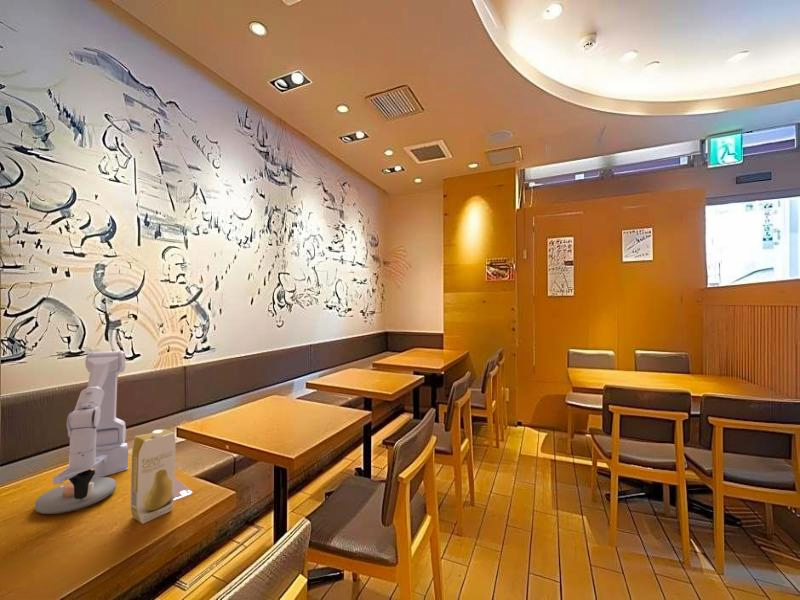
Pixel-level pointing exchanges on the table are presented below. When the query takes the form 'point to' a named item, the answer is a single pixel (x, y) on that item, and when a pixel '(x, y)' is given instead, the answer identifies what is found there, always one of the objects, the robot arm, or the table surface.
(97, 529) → the table surface
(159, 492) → the juice carton
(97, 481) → the turntable
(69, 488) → the pink rounded disc
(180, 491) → the mobile phone
